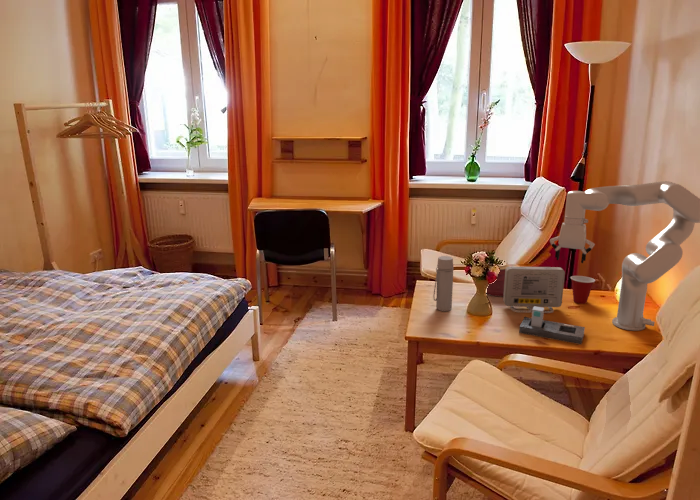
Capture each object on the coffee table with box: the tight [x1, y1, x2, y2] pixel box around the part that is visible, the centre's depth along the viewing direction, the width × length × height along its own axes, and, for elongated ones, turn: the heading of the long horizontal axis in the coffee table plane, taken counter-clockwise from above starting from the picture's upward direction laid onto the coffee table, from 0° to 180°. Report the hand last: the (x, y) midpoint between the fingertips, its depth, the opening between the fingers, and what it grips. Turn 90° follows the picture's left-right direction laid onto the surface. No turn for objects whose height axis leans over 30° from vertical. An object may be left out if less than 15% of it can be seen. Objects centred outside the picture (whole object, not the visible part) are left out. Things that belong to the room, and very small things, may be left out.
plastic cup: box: [570, 275, 596, 305], centre depth 245 cm, size 11×11×12 cm
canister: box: [486, 258, 510, 297], centre depth 258 cm, size 13×13×18 cm
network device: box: [502, 266, 566, 314], centre depth 236 cm, size 26×9×20 cm, turn 84°
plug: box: [531, 306, 545, 328], centre depth 214 cm, size 4×5×10 cm
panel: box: [518, 316, 585, 345], centre depth 213 cm, size 24×11×3 cm, turn 61°
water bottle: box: [432, 255, 454, 312], centre depth 236 cm, size 9×8×25 cm
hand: (569, 260), depth 215 cm, fingers open, 9 cm apart
